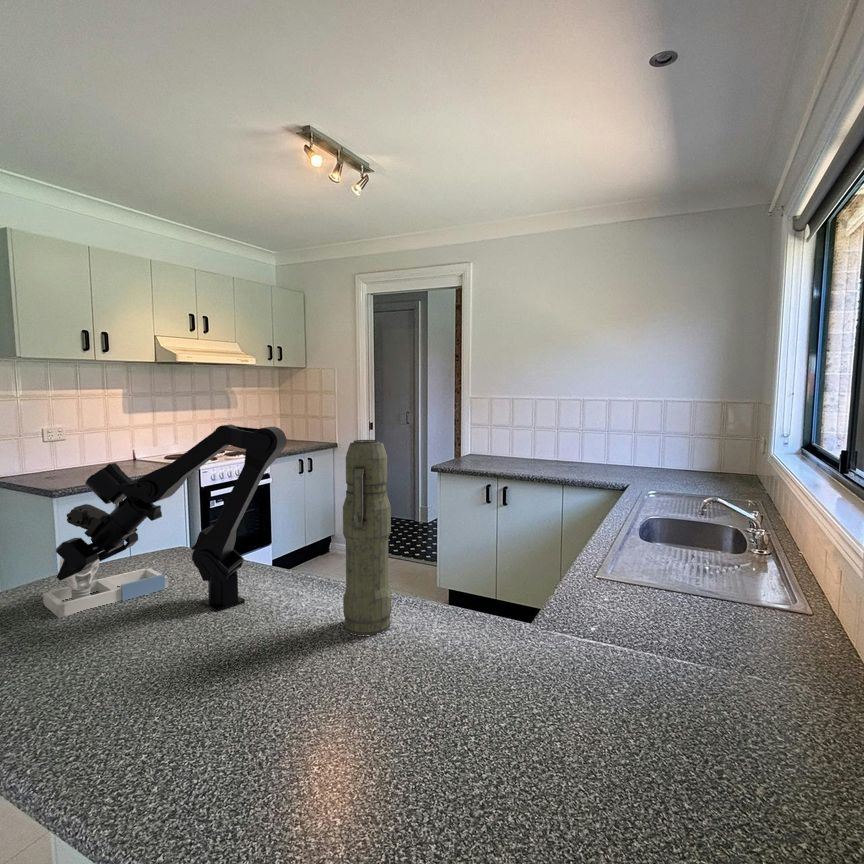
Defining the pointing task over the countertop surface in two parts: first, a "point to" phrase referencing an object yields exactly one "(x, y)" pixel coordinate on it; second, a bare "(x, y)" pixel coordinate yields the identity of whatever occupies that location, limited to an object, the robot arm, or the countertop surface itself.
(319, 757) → the countertop surface
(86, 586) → the light bulb
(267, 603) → the countertop surface
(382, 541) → the thermos
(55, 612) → the white tray
